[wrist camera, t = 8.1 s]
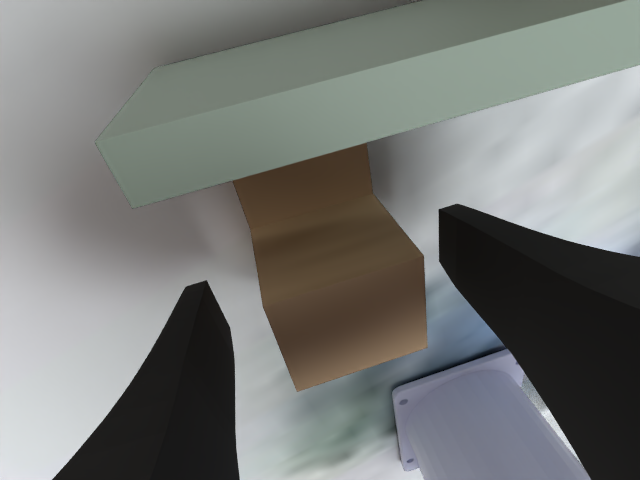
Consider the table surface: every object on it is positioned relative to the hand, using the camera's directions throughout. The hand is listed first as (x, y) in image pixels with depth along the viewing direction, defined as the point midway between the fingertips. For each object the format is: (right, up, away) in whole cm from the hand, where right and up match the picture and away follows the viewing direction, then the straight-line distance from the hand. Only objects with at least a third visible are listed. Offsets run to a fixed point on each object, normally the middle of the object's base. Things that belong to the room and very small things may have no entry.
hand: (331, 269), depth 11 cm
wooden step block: (-1, +2, +2) cm, 3 cm away
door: (0, +7, -1) cm, 7 cm away
